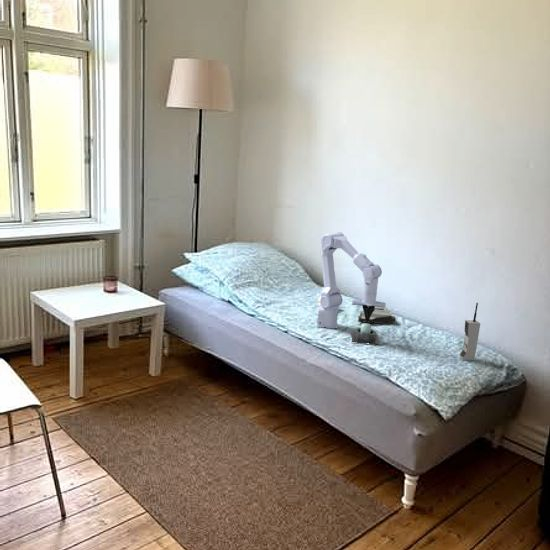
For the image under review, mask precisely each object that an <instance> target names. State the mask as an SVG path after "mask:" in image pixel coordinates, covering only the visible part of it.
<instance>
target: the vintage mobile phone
mask: <svg viewBox="0 0 550 550" xmlns="http://www.w3.org/2000/svg"><path fill="white" fill-rule="evenodd" d="M475 304H476V305H475V310H474V315H473V319H466V320H464V333H465V334H464V341H463V347H462V350H461V352H460V353H459V357H461V358H462V359H463V360H462V359H461V358H460V359H461V360H462V361H468V360H474V361H475V359H476V352H477V345H478V340H479V335H480V330H481V329H480V328H481V323H480V322H479V321H478V320H477V311H478V306H479V302H476V303H475Z"/></svg>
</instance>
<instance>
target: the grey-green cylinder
mask: <svg viewBox="0 0 550 550" xmlns="http://www.w3.org/2000/svg"><path fill="white" fill-rule="evenodd" d="M360 328H361V331H360V333H363V334H370V332H371V329H372V324H370V323H368V322H362V323H360Z"/></svg>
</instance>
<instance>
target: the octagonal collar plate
mask: <svg viewBox="0 0 550 550" xmlns="http://www.w3.org/2000/svg"><path fill="white" fill-rule="evenodd" d="M360 331H361V327H357V328H355V329H354V331H350V338H351V337H352V340H351V343H352V342H357V343H369V344H375V345H374V346H378V345H379V346H380V344H381V343H380V339H379V335H378V334H377V331H376V330H374V329H373V328H371V332H370V334H363V333H360ZM357 343H356V344H357Z"/></svg>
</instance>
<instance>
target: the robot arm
mask: <svg viewBox="0 0 550 550" xmlns="http://www.w3.org/2000/svg"><path fill="white" fill-rule="evenodd" d="M320 243H321V244H320V245H321V247H320V258H321V266H322V267H321V268H322V269H321V270H322V276H323V285H324V286H323V289H322V291H321V292H320V296H321V298H320V303H321V306H322V307H319V306H318V312H317V317H316V322H317V324H316V325H317V327H318V328H324V327H326V328H325V329H335V328H337V329H338V327H339V326H338V315H339V308H340V305H342V303H343V296H342V293H341V290H340V289H339V288H338V286H337V283H336V282H337V280H336V272H335V262H334V261H335V260H334V253H335V252H336V250H338V249H341V250H343V252H345V253H346V254H347V255H348V256H349V257H351V258H352V262H353V264H354V265H355V266H356V267H357V268H358V269H359V270H360V271H361V272H362V276H363V281H364V283H363V295H362V299H352V301H351V306H361V307H362V311H364V314H365V322H364V323H370V322H369V319H370V317H371V315H372V313H373V311H374V310H375V307H378V308H386V302H384V301H383V302H382V301H377V294H378V293H377V292H378V287H379V286H378V285H379V284H378V283H379V278H380V277H381V275H382V271H383V270H382V268H381V266H380V265H379V264H375V263H374V262H373V261H371V260H370V259H369V258H368V257H367V255H366V254H364V253H359V252H358V251H357V249H356V248H355V247H354V246H353V245H352V244H351V243H350V242H349V240H348V238H347V236H346V235H344V233H342V232H333V233H324V235H323V236H322V237H321V239H320Z"/></svg>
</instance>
